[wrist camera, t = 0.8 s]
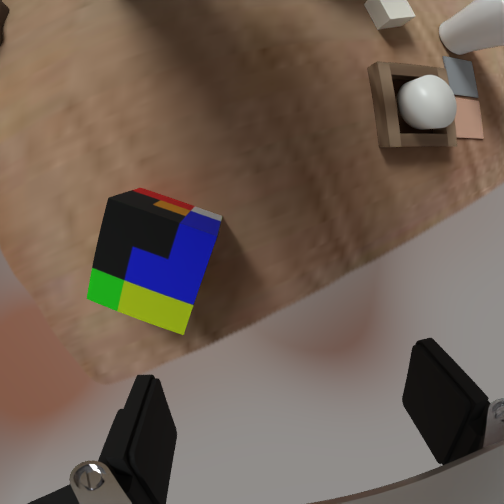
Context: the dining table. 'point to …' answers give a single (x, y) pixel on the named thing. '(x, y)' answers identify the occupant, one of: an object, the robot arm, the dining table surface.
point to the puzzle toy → (152, 257)
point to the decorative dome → (2, 17)
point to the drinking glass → (474, 27)
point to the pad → (468, 119)
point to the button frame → (387, 109)
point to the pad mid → (460, 77)
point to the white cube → (389, 12)
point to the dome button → (427, 103)
